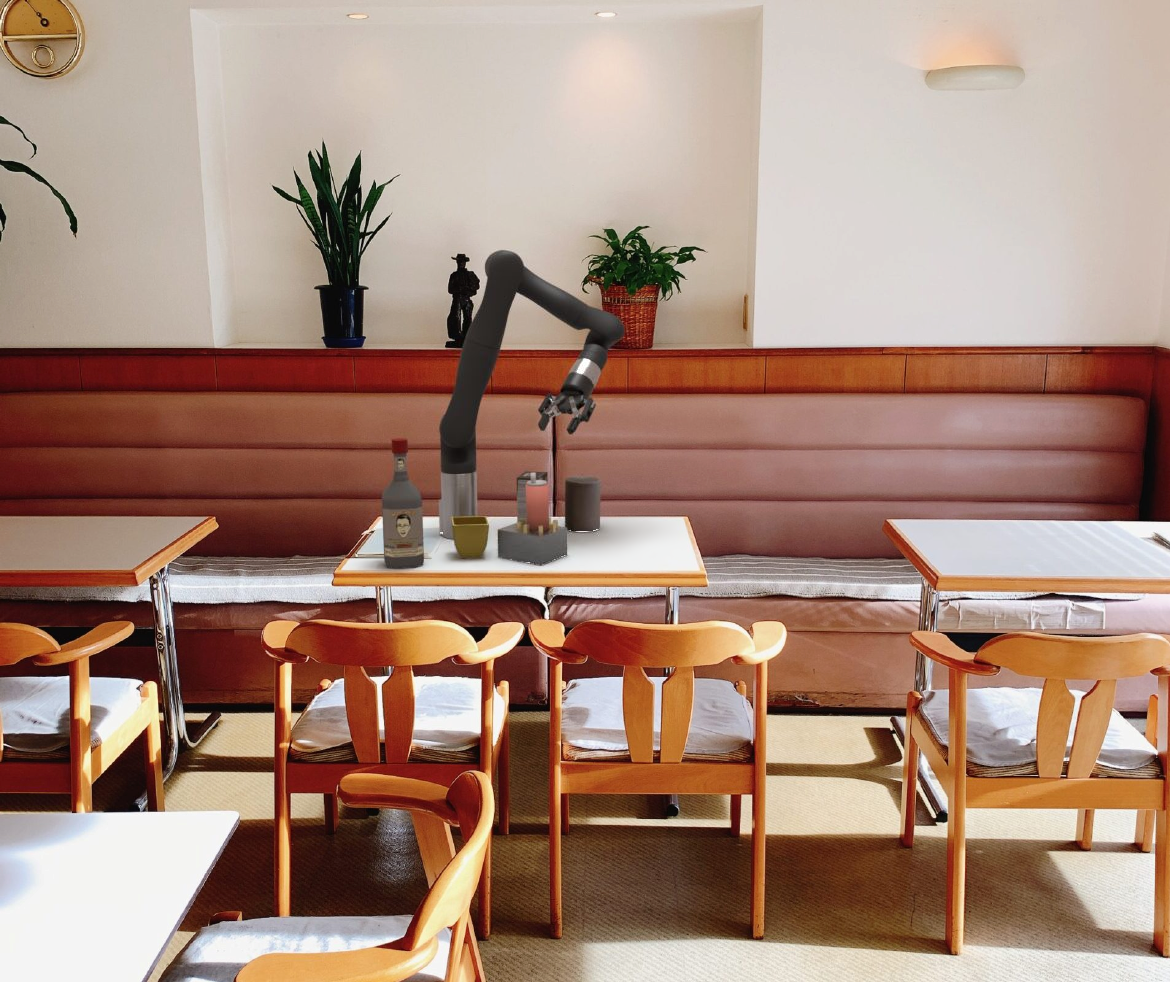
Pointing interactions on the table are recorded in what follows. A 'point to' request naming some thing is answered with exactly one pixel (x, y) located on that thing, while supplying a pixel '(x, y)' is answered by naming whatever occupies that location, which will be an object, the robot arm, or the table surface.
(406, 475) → the liquor
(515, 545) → the grey block
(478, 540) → the flower pot
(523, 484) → the coffee box
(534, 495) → the spout can
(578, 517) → the pillar candle
